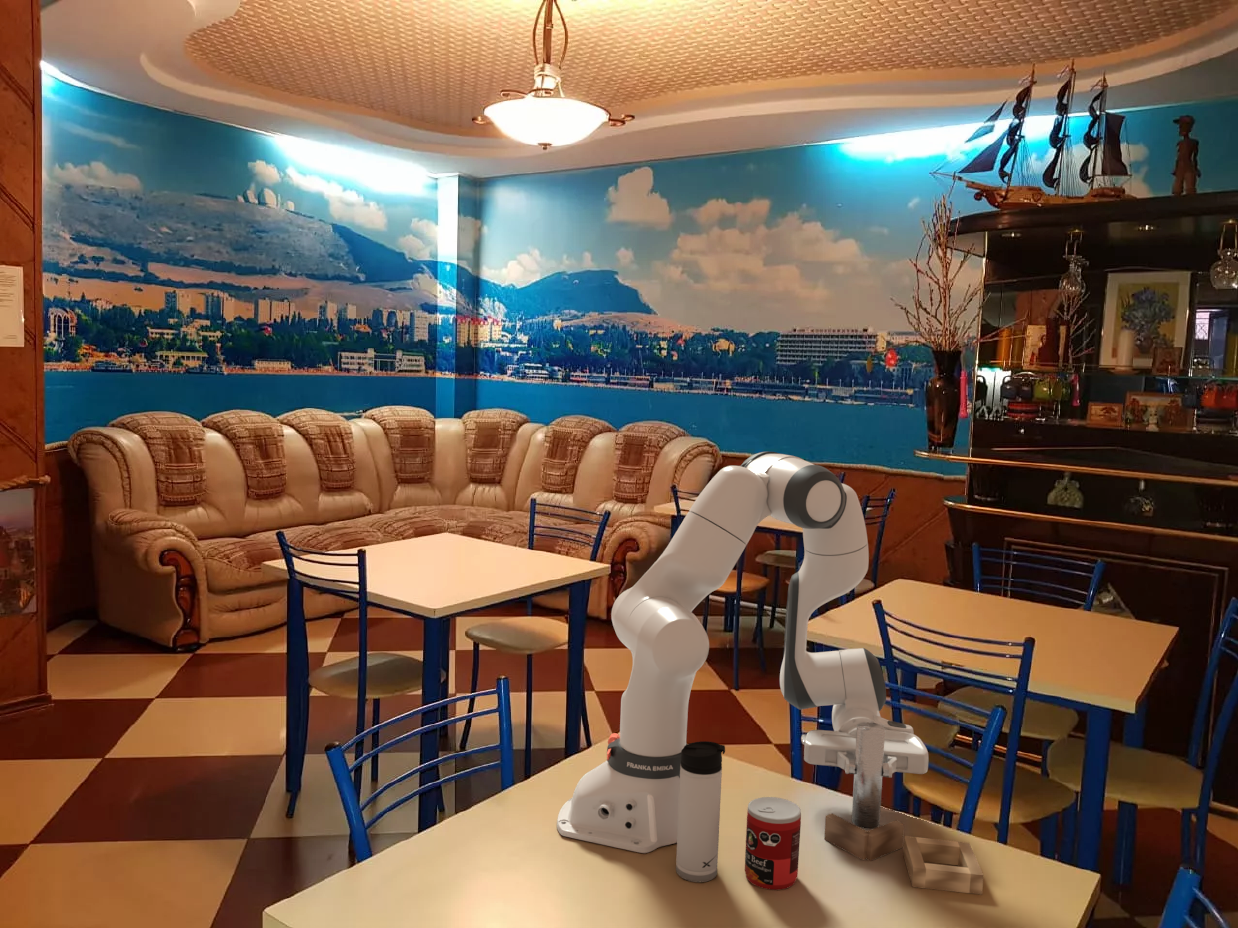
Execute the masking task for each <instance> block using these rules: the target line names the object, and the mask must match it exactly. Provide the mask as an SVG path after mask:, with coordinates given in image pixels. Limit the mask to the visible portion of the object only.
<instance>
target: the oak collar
mask: <svg viewBox="0 0 1238 928" xmlns="http://www.w3.org/2000/svg"><path fill="white" fill-rule="evenodd" d="M902 856H903V858H904V863H905V865H906V869H907V873H908V877H909V880H910V883H911V887H912V888H921V889H927V890H928V889H931V890H938V891H947V892H948V891H949V892H957V893H964V894H965V893H966V894H972V895H980V896H981V895H983V887H984V873H983V871H982V868H981V866H980V864H979V862H978V859H977V857H976V855H975V853H974V851H973V848H972V846H971V844H970V842H966V841H958V840H957V841H956V840H946V839H938V838H928V837H927V838H926V837H920V836H919V837H918V836H909V835H903V848H902Z"/></svg>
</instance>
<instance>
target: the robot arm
mask: <svg viewBox="0 0 1238 928" xmlns="http://www.w3.org/2000/svg"><path fill="white" fill-rule="evenodd" d="M840 480H841V479H839V478H838V477H837V475H835V474H834V472H832V471H830V470H829V469H828V468H826V467H825V466H822V465H819V464H814V463H812V462H809V461H807V460H804V459H803V458H801V457H798V456H794V455H790V454H784V453H779V452H777V451H761V452H758V453H754V454H752V455H750V456H749V457H748V458H747V459H745V460H744V461H743V463H742V464H741V465H727V466H724V467H723V468H721V469H720V470H719V471H717V473H716V474H715V475H714V476H712V478H711V480H710V481H709V482H708V483H707V484H706V485H705V487H704V488H703V489H702V491H701V492H699V495H698V496H697V498H696V499H695V500H694V502H693V503H692V505H691V506H690V508H689V510H688V512H687V514H686V515H685V517H684V518H683V520H682V522H681V524H680V525H679V526H678V528H677V530H676V531H675V533H674V535H673V537H672V538H671V539H670V542H668V545H667V546H666V548H665V549H664V550H663V552H662V553H661V554H660V556H659V557H658V558H657V560H656V561H654V563H653V564H652V565H651V566H650V567H649V569H647V571H646V572H644V574H643V575H642V576H641V577H640V578H639V579H638V581H637V582H635V584H634V585H633V586H632V587H630V588H627V589H626V590H623V592H621V594H619V595H618V597H617V598H616V599H615V600H614V602H613V605H612V608H611V613H610V615H611V616H610V617H611V622H612V626H613V629H614V631H615V634H616V636H617V638H618V640H619V641H620V642H621V643H622V644H623V645H624V646H625V647H626V648H627V649H628V650H629V651H630V652H631V656H632V667H631V672H630V677H629V681H628V683H627V686H626V687H627V688H626V690H624V692H623V693H622V695H621V698H620V717H619V718H620V720H619V721H620V722H619V723H620V724H619V734H618V733H615V732H613V733H611V735H609V738H608V740H607V744H608V745H607V746H606V760H605V761H603V762H602V763H601V764H598V765H597V766H595V767H594V768H593V769H591V770H589V771H588V772H586V773H585V774H584V775H583V776H582V777H581V778H580V780H578V782H577V784H576V786H575V789H574V791H573V794H572V797H571V798H569V799H568V800H567V801H566V802H565V803H564V804H563V805H562V807H561V808H560V810H559V812H558V815H557V820H556V829H557V831H558V833H559V834H560V835H561V836H563V837H567V838H572V839H576V840H580V841H585V842H590V843H594V844H597V845H603V846H608V847H612V848H618V849H621V850H627V851H631V852H635V853H636V852H637V853H641V854H646V853H647V854H648V853H650V852H652V851H655V850H657V848H661V847H664V846H669V845H672V844H677V832H678V809H679V786H680V769H681V768H680V764H681V750H682V749H683V748H684V746H686V745H687V744H688V743H687V733H688V731H687V730H688V712H689V702H690V701H689V700H690V696H691V690H692V687H693V683H694V682H695V681H694V680H695V678H696V675H697V671H699V670H700V669H701V668H702V666H703V665H704V664H705V662H706V660H707V658H708V655H709V650H710V640H709V636H708V634H707V631H706V630H705V628H704V625H702V623H701V621H700V620H699V619H698V617H697V616H696V615H695V614H694V613H693V611H694V609H695V608H696V607H697V606H698V605H699V604H700V603H701V602H702V601H703V600H705V599H706V597H707V596H708V595H710V594H712V592H714V591H717V590H718V589H720V588H721V587H722V586H723V585H724V584H725V583H726V581H727V579H728V578H729V575H730V574H731V572H732V571H733V569H734V567H735V566H736V564H737V563H738V561H739V559H740V557H741V555H742V553H743V552H744V550H745V548H746V547H747V545H748V543H749V541H750V540H751V538H752V536H753V534H754V532H755V530H756V528H757V527H758V525H759V524H760V523H761V522H762V521H763V520H764V519H766V518H768V517H769V516H770V517H772V519H774V520H778V521H779V522H784V523H787V524H791V525H795V526H796V527H798V528H801V529H802V538H803V547H804V550H803V551H804V554H803V555H804V556H803V559H802V564H801V566H800V568H799V569H798V571H797V572H795V573H794V574H792V575H791V578H790V580H789V583H788V590H787V598H786V599H787V601H786V609H785V610H786V611H785V624H784V625H785V626H784V628H785V629H784V640H783V641H784V643H783V644H784V648H783V659H782V662H781V666H780V670H779V672H780V673H779V687H780V691H781V694H782V695H783V698H784V701H786V702H788V703H789V704H790V705H791V706H792V707H795V708H796V709H798V710H806V709H807V710H808V709H812V708H818V707H820V706H822V707H823V706H832V711H831V722H832V728H833V730H824V729H813V730H812V729H811V730H809V731H808V732H807V734H806V733H805V734H802V735H801V737H800V740H801V743H802V745H804V751H803V755H804V756H803V760H804V761H805V762H806V763H807V764H810V765H815V766H817V765H818V766H828V767H838V768H840V769H842V770H844V771H845V774H846V775H848V774H849V775H854V774H855V751H856V732H857V724H859V723H862V722H871V723H876V724H879V725H882V726H883V727H884V728H885V739H884V756H883V773H882V778H893V774H894V773H896V772H897V773H904V774H905V773H906V774H915V775H923V774H926V773H927V772H928V770H929V752H928V751H929V750H928V749H927V747H926V745H925V744H924V742H923V741H922V739H921V738H920V737H919V736H917V735H916V734H914V727H912V726H911V725H909V724H905V723H901V722H897V721H893V720H890V719H886V718H884V717H882V716H881V713H880V712H881V711H882V709H883V707H884V706H885V704H886V702H887V688H886V682H885V677H884V674H883V671H882V668H881V664H880V662H879V659H878V658H877V657H876V656H875V655H874V654H873V653H872V652H871V651H870V650H868V649H867V648H864V647H862V648H861V647H860V648H848V649H847V648H845V649H838V650H832V651H831V650H829V651H819V652H810V651H807V642H808V641H807V639H808V629H809V628H808V627H809V625H808V624H809V619H810V616H811V615H812V614H813V613H814V612H815V610H817V609H818V608H820V607H821V606H823V605H825V604H826V603H829V602H830V601H833V600H834V599H837V598H839V597H841V596H844V595H846V594H847V593H849V592H850V591H853V590H854V589H855V588H856V587H857V586H858V585H859V584H860V583H861V582H862V581H863V579H864V578H865V576H866V574H867V573H868V570H869V565H870V564H869V559H870V558H869V557H870V553H869V541H868V534H867V526H866V521H865V518H864V514H863V510H862V507H861V504H860V500H859V498H858V495H857V492H856V491H855V490H854V489H853V488H852V487H851V486H849V485H847V484H846V483H842V482H841V481H840Z"/></svg>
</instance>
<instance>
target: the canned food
mask: <svg viewBox="0 0 1238 928" xmlns="http://www.w3.org/2000/svg"><path fill="white" fill-rule="evenodd" d="M746 810H747V814H746V827H745V828H746V830H745V832H746V834H745V851H744V852H745V854H744V856H745V857H744V873H745V877H746V879H747V880H748V881H749V882H750V883H751V884H752V885H754V886H756V887H758V888H761V889H765V890H772V891H778V890H780V891H781V890H785V889H788V888H791V887H792V886H793V885H795V884H796V881H797V879H798V875H799V874H798V873H799V861H800V860H799V857H800V856H799V855H800V843H801V842H800V840H801V826H802V825H801V824H802V811H801V807H800V806H799V805H798V804H797V803H795V802H794V801H791V800H788V799H785V798H781V797H776V796H763V797H758V798H754V799H752V800H751V801H750V802H749V803H748V804H747V809H746Z"/></svg>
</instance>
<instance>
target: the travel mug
mask: <svg viewBox="0 0 1238 928" xmlns="http://www.w3.org/2000/svg"><path fill="white" fill-rule="evenodd" d="M725 753H726V746H725V745H724V744H720V743H718V742H714V741H708V740H707V741H706V740H705V741H704V740H703V741H701V740H700V741H693V742H690V743H687V745H686V746H684V748H683V749H682V750H681V764H680V768H681V769H680V786H679V809H678V832H677V843H676V859H675V863H676V864H675V871H676V874H677V875H678V876H679V877H680V878H682V879H683V880H685V881H688V882H693V883H706V882H710V881H711V880H713V879H715V878H716V877H717V874H718V860H719V857H718V856H719V840H720V839H719V838H720V821H721V820H720V819H721V800H722V799H721V798H722V797H721V796H722V795H721V794H722V774H723V773H722V772H723V755H724V754H725Z"/></svg>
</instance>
